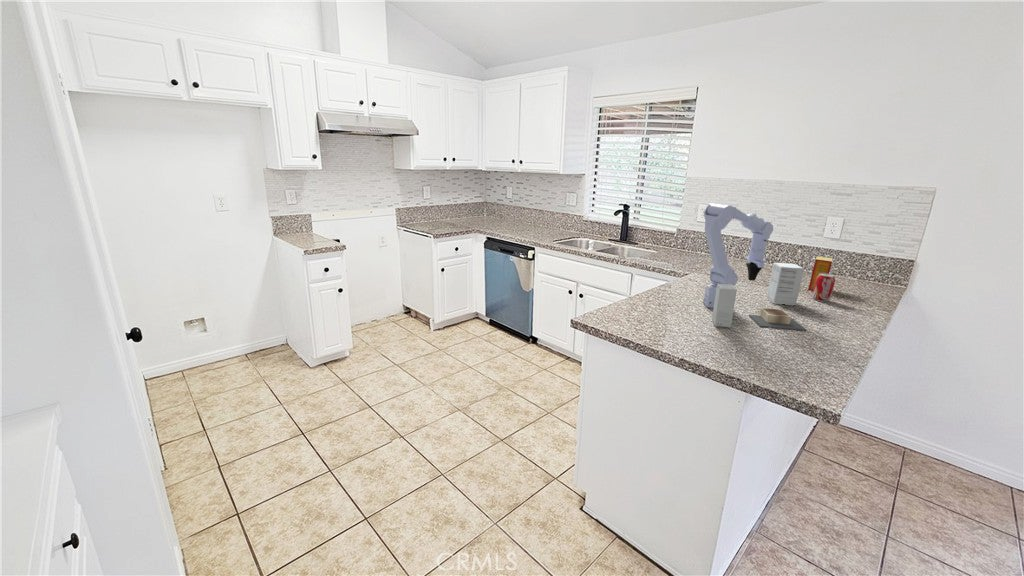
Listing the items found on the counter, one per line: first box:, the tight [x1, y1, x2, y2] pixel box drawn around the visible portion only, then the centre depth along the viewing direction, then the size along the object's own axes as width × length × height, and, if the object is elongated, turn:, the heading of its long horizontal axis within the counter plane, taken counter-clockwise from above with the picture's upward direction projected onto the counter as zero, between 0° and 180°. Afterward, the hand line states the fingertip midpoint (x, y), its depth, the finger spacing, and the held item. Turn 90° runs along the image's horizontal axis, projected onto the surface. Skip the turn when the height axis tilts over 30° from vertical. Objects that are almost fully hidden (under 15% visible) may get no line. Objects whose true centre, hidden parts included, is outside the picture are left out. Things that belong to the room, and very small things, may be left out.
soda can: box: [811, 273, 836, 303], centre depth 196 cm, size 7×7×12 cm
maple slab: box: [758, 307, 792, 324], centre depth 169 cm, size 8×3×8 cm
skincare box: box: [711, 284, 738, 329], centre depth 162 cm, size 8×6×15 cm
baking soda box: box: [807, 255, 833, 292], centre depth 212 cm, size 10×6×16 cm
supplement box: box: [765, 262, 805, 306], centre depth 190 cm, size 10×9×17 cm
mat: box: [748, 314, 807, 332], centre depth 167 cm, size 16×12×1 cm
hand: (751, 280), depth 187 cm, fingers closed
